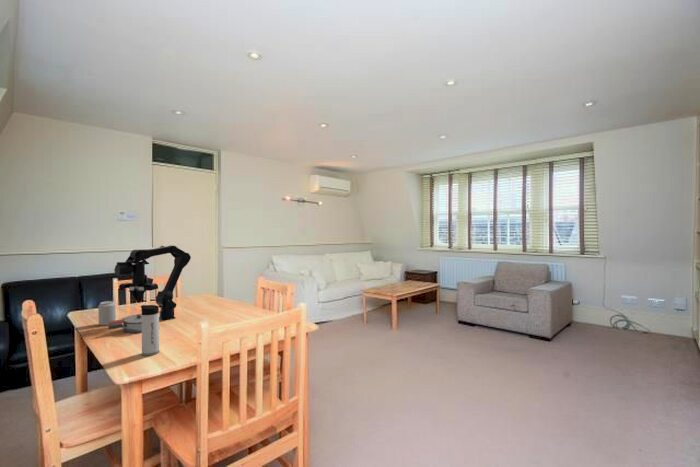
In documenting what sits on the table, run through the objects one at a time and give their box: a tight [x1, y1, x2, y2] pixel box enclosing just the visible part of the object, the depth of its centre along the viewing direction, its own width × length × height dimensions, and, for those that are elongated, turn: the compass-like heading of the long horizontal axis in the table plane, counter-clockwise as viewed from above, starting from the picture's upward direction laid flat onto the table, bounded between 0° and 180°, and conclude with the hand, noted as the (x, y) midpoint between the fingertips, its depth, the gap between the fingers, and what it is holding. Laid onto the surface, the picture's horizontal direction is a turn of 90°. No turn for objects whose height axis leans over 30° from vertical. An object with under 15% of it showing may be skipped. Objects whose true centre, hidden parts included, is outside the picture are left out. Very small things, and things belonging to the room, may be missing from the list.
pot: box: [107, 316, 163, 335], centre depth 173 cm, size 23×14×5 cm, turn 137°
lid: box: [107, 313, 142, 326], centre depth 172 cm, size 20×15×2 cm
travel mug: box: [140, 304, 160, 357], centre depth 141 cm, size 6×7×20 cm
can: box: [97, 300, 117, 327], centre depth 183 cm, size 8×8×12 cm
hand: (138, 302), depth 181 cm, fingers closed
